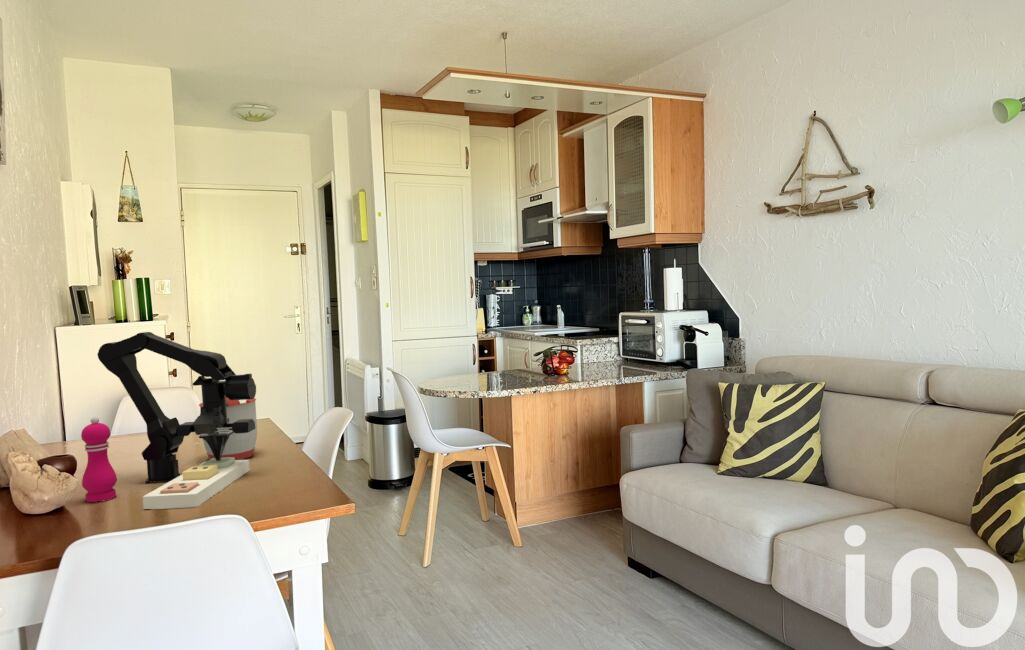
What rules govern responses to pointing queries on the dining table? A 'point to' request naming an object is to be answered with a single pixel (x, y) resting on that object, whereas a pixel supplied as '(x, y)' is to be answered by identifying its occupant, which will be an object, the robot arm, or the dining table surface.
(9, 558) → the dining table surface
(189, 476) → the tile
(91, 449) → the pepper mill
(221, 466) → the tile
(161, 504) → the rail
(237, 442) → the citrus juicer
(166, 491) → the three-pip tile
